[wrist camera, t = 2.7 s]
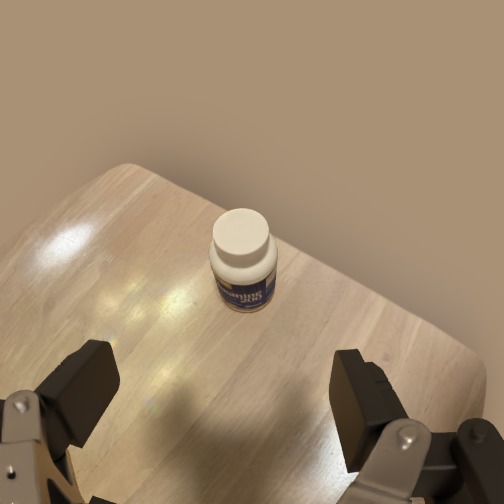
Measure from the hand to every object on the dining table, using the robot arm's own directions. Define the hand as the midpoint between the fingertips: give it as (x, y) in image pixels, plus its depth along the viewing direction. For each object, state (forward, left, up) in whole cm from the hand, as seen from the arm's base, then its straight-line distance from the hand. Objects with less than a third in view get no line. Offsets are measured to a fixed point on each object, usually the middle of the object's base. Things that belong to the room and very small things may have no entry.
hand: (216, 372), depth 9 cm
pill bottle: (0, -11, -16) cm, 20 cm away
